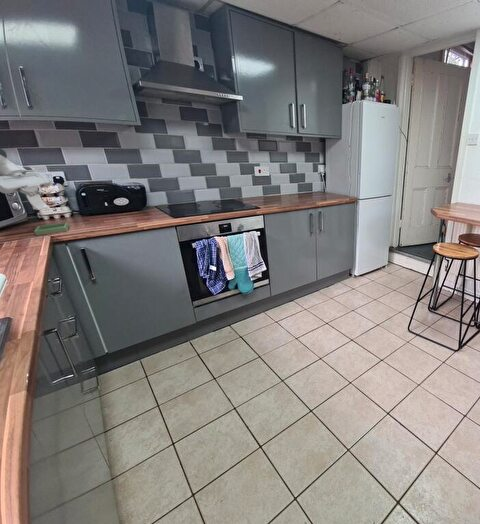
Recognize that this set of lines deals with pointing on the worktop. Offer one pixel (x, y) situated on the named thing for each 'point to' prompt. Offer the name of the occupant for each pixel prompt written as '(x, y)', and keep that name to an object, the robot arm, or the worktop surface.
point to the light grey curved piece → (35, 197)
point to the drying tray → (51, 228)
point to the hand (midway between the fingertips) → (37, 195)
